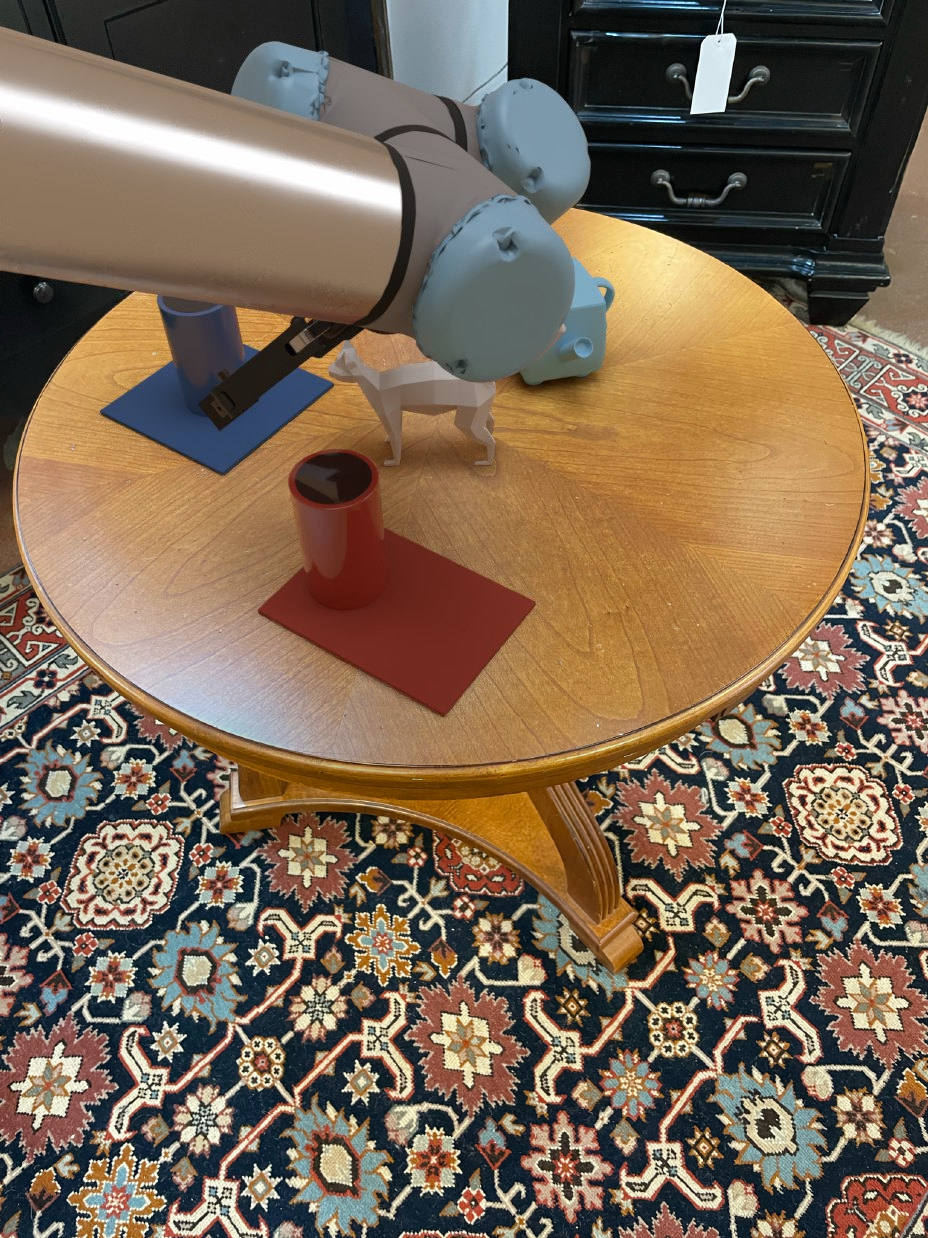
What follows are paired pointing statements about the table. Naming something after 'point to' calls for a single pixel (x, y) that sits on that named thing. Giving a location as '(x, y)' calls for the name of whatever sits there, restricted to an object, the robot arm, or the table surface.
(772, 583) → the table surface
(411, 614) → the red mat
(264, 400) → the blue mat
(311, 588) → the red tumbler
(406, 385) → the cat figurine
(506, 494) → the table surface
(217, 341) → the blue tumbler
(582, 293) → the teapot
